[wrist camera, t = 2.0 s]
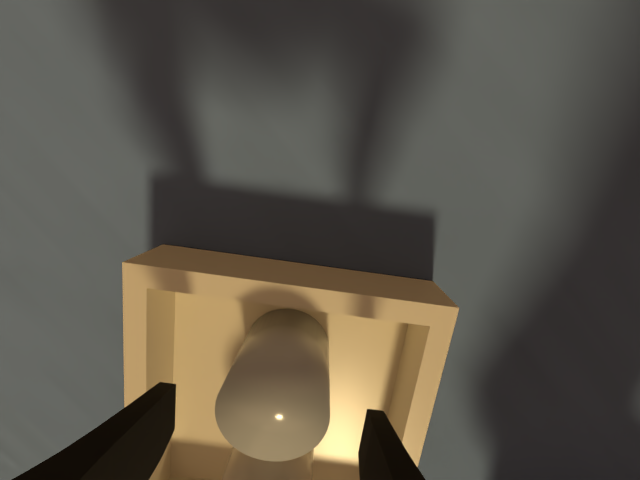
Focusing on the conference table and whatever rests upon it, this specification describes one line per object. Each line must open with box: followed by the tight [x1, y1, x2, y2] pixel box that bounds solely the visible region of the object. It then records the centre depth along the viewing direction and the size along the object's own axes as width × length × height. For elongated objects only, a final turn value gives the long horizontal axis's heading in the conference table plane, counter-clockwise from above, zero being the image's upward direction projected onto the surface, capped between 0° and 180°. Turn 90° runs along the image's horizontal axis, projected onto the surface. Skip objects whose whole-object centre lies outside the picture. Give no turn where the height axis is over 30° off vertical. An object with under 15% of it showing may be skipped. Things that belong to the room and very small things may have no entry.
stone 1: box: [215, 309, 330, 462], centre depth 13 cm, size 4×4×4 cm
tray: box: [122, 244, 459, 480], centre depth 15 cm, size 14×15×3 cm
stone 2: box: [222, 447, 314, 480], centre depth 15 cm, size 4×4×4 cm
